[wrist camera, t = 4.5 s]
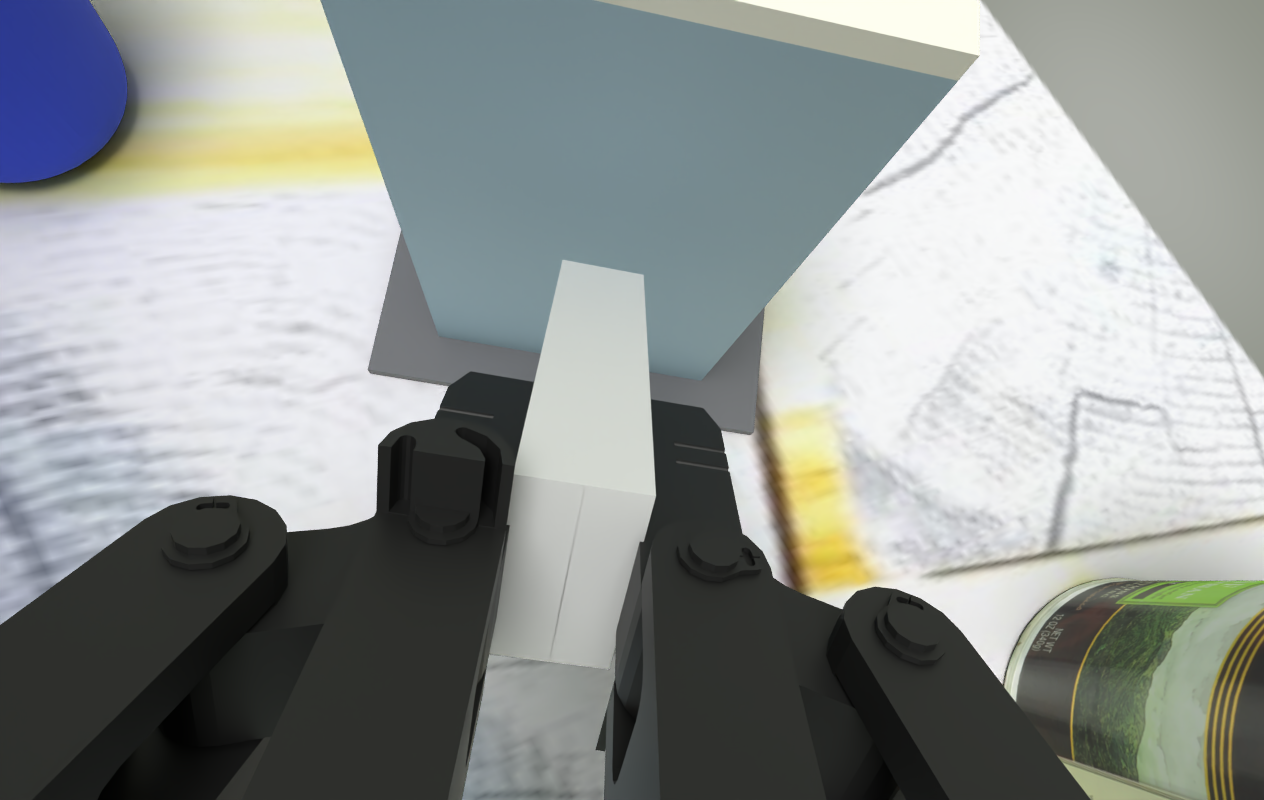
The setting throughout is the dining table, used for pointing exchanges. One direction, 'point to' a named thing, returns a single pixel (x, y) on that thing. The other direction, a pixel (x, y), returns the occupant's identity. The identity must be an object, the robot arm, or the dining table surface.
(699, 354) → the block
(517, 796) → the dining table surface
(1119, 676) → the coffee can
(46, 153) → the mug
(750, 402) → the mat
